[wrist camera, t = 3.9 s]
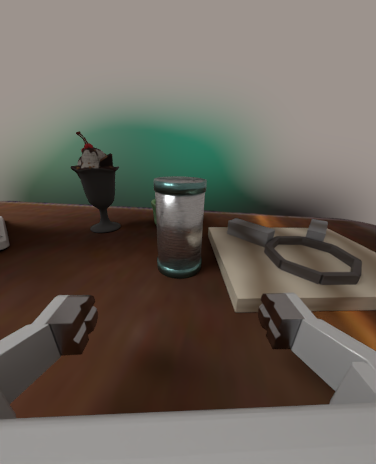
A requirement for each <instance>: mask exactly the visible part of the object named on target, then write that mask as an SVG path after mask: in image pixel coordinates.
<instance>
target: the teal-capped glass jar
mask: <svg viewBox="0 0 376 464" xmlns="http://www.w3.org/2000/svg"><path fill="white" fill-rule="evenodd" d="M154 191H155V197H156V220H157V243H158V258H157V263H158V270H159V271H160V272H161V273H162V274H163V275H165V276H167V277H171V278H179V279H180V278H188V277H191V276H194V275H195V274H197V273H198V272H199V271H200V269H201V245H202V228H203V212H204V195H205V191H206V180H205V179H201V178H194V177H159V178H155V179H154Z"/></svg>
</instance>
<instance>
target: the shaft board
mask: <svg viewBox="0 0 376 464" xmlns="http://www.w3.org/2000/svg"><path fill="white" fill-rule="evenodd" d="M327 224H328V222H326V221H320V220H315V219H312V221H311V223H310V226H309V228H268V227H264V226H261V225H257V224H254V223H251V222H247V221H244V220H240V219H237V218H236V219H233V220H230V221H228V227H209V229H208V237H209V240H210V243H211V246H212V248H213V251H214V254H215V257H216V260H217V262H218V265H219V268H220V271H221V273H222V276H223V279H224V282H225V285H226V287H227V290H228V293H229V296H230V299H231V301H232V304H233V307H234V310H235V312H258V309H259V306H260V305H261V304H262V301H261V296H262V294H263V293H295V294H296V295H297V296H298V297H299V298H300V299H301V300H302V302H303V303H304V304H305V305H306V306H307V307H308V309H309V310H310V311H344V310H376V253H375V252H373V251H371V250H369V249H367V248H365V247H363V246H361V245H359V244H357V243H355V242H353V241H351V240H349V239H347V238H345V237H343V236H341V235H339V234H337V233H335V232H333V231H331V230H329V229H327Z"/></svg>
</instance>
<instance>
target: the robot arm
mask: <svg viewBox="0 0 376 464" xmlns="http://www.w3.org/2000/svg"><path fill="white" fill-rule="evenodd" d="M9 245H10V244H9V239H8V234H7V230H6V225H5V221H4V219H3V217H2V216H0V250H2V249H5V248H7V247H8V246H9ZM261 301H262V304H261V305H260V306H259V309H258V318H259V321H260V324H261V326H262V327H263V328H264V329H265V330H266V331H267V334H266V337H267V339H268V341H269V343H270V345H271V347H272V349H291V350H292V351H293V352H294V353H295V354H296V355H297V356H298V357H299V358H300V359H301V360H302V361H303V362H304V363H306V364H307V365H308V366H309V367H310V368H311V369H312V370H313V371H314V372H315V373H316V374H317V375H319V376H320V377H321V378H322V379H323V380H324V381H325V382H326V383H327V384H328V385H329V386H330V387H331V388H333V389H334V390H335V393H334V395H333V397H332V398H331V400H330V404H328V405H306V406H284V407H261V408H238V409H215V410H193V411H171V412H149V413H127V414H105V415H83V416H61V417H39V418H17V419H16V414H15V412H14V411H13V409H12V408H11V406H10V403H11V402H13V401H14V400H15V399H16V398H17V397H18V396H19V395H20V394H21V393H22V392H23V391H24V390H26V389H27V388H28V387H29V386H30V385H31V384H32V383H33V382H34V381H35V380H36V379H37V378H38V377H40V376H41V375H42V374H43V373H44V372H45V371H46V370H47V369H48V368H49V367H50V366H51V365H52V364H54V363H55V362H56V361H57V360H58V359H59V358H60V357H61V356H63V355H81V354H82V353H83V351H84V349H85V347H86V345H87V343H88V341H89V338H88V334H90V333H91V332H92V331H93V330H94V328H95V326H96V323H97V319H98V312H97V309H96V308H95V307H94V306H93V305H94V303H95V299H94V296H92V295H58V296H56V297H55V298H54V299H53V300H52V301H51V303H50V304H49V305H48V306H47V307H46V308H45V309H44V311H43V312H42V313H41V314H40V315H39V316H38V317H37V319H36V320H35V321H34V322H33V323H32V324H31V325H26V326H24V327H23V328H21V329H19V330H17V331H16V332H14V333H12V334H11V335H9V336H7V337H5V338H4V339H2V340H0V464H376V351H374V350H373V349H371V348H369V347H368V346H366V345H364V344H362V343H361V342H359V341H357V340H356V339H354V338H352V337H350V336H349V335H347V334H345V333H344V332H342V331H340V330H338V329H337V328H335V327H333V326H332V325H330V324H328V323H326V322H325V321H323V320H321V319H317V318H316V317H315V316H314V315H313V313H312V312H311V311H310V310H309V309H308V307H307V306H306V305H305V304H304V303H303V302H302V300H301V299H300V298H299V297H298V296H297V295H296V294H295V293H263V294H262V296H261Z"/></svg>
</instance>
